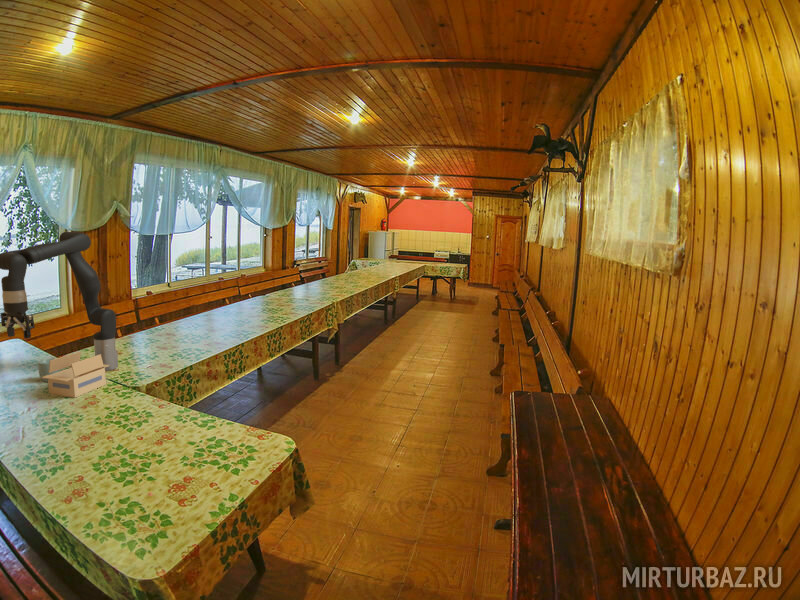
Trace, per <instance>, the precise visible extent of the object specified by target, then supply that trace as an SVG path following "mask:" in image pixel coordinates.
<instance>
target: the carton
mask: <svg viewBox="0 0 800 600" xmlns="http://www.w3.org/2000/svg"><path fill="white" fill-rule="evenodd" d="M103 365H104V366H103V367H102V368H101V367H100V368H97V369H94V370H92V371H89V372H86V373H83V374H80V375H77V376H74V374H73V370H72V367H69V368H66V369H63V370H60V372H57V373H54V374H51V375H46V376H43V377H41V378H45V379H48V382H47V384H48V386H47V387H48V394H49V395H52V396H53V395H54V396H58V397H64V398H65V397H66V398H71V397H72V399H73V398H74V399H77V398H78V396H79V397H81V396H84V395H86V394H89V393H91V392H93V391H92V390H94V391H96V390H98V389H97V388H99V387H101V386H104V385H106V386H107V382H106V380H107V379H106V371H105V367H108V366H110V365H105V364H103ZM41 378H40V379H41ZM104 387H105V386H104ZM101 388H102V387H101ZM95 389H96V390H95ZM99 389H100V388H99ZM90 391H91V392H90ZM88 392H89V393H88ZM85 393H86V394H85ZM83 394H84V395H83ZM80 395H81V396H80ZM76 397H77V398H76Z"/></svg>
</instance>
